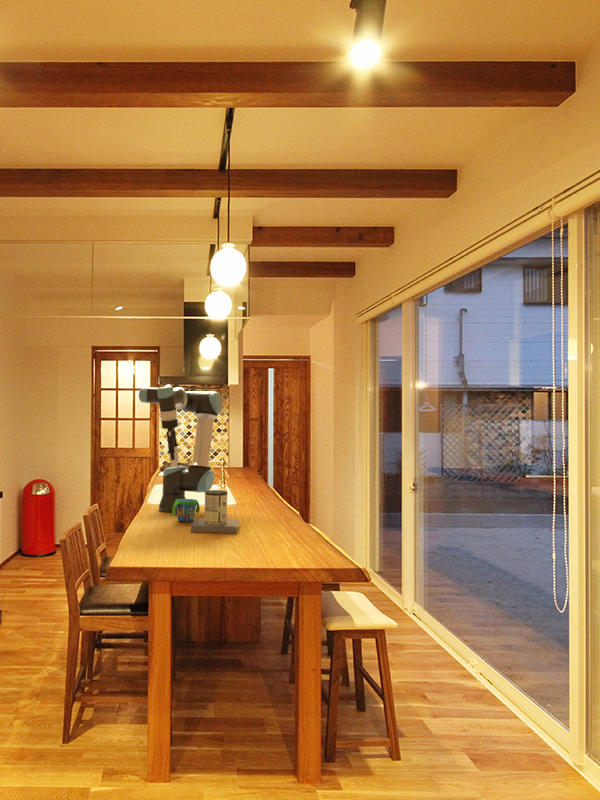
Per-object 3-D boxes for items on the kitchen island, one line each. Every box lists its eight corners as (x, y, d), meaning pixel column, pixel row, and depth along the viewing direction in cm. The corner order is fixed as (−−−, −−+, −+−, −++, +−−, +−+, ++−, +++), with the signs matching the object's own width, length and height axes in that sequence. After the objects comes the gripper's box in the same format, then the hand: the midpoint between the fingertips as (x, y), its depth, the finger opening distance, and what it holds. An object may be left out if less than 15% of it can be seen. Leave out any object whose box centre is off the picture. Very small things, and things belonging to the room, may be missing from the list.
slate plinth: (195, 525, 312) (195, 518, 312) (238, 526, 312) (238, 519, 312) (190, 532, 294) (190, 525, 294) (236, 533, 294) (236, 526, 294)
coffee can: (206, 520, 308) (207, 489, 309) (228, 521, 308) (229, 490, 308) (201, 523, 298) (202, 492, 298) (224, 525, 297) (225, 493, 297)
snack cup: (192, 518, 331) (193, 497, 331) (205, 521, 323) (206, 500, 323) (165, 521, 320) (166, 499, 320) (178, 524, 312) (178, 502, 312)
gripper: (163, 416, 325) (169, 458, 328) (158, 424, 300) (164, 470, 303) (179, 414, 326) (184, 456, 328) (175, 422, 301) (181, 468, 304)
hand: (175, 463), depth 316 cm, fingers open, 13 cm apart
